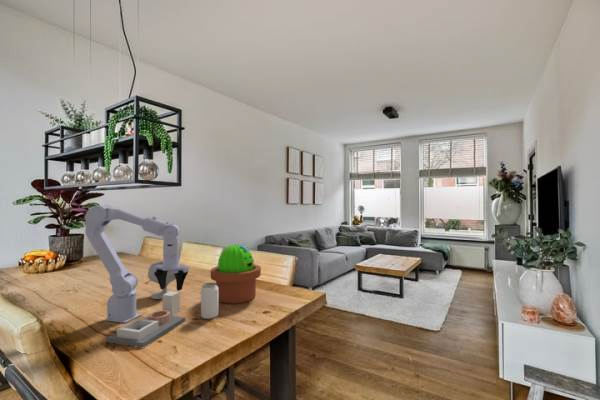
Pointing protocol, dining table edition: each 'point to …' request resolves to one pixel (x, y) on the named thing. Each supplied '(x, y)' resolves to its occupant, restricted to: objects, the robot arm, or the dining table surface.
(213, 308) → the can
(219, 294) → the potted cactus
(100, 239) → the robot arm
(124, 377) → the dining table surface
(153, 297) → the chalice
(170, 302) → the square peg
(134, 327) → the socket board
